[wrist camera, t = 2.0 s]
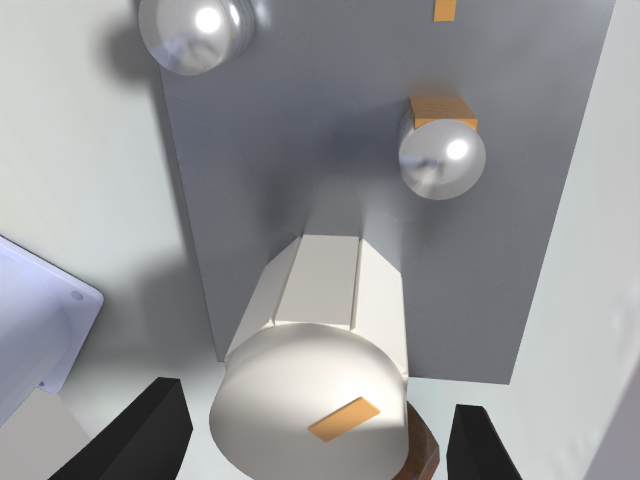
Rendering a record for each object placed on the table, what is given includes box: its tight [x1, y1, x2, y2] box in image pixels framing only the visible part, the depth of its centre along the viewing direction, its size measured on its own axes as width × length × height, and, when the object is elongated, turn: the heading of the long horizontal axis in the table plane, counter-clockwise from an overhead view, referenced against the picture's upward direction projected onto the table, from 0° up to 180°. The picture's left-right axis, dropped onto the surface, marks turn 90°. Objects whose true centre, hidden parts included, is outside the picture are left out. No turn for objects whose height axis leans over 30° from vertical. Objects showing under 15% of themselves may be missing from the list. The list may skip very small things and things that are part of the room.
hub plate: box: [138, 0, 616, 385], centre depth 13 cm, size 16×12×4 cm
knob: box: [209, 235, 409, 480], centre depth 13 cm, size 5×5×6 cm
